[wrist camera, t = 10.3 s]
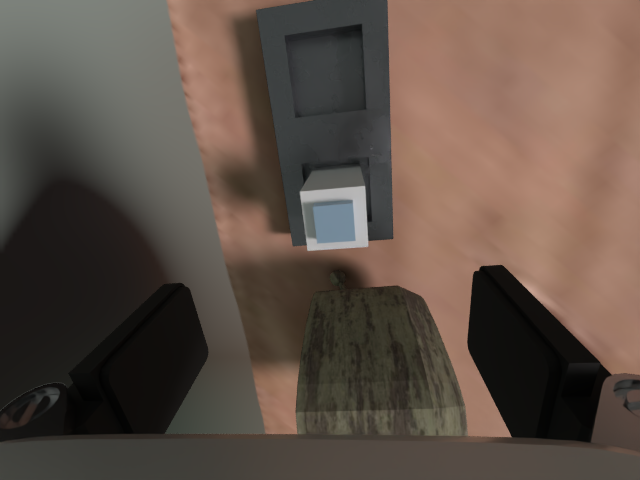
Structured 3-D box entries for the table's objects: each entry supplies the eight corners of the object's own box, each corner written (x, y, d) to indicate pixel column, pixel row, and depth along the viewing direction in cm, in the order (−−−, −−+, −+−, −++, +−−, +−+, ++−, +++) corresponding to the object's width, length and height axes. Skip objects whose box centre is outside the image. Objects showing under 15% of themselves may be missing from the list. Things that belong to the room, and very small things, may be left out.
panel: (266, 21, 24) (256, 9, 22) (382, 3, 23) (387, -12, 21) (297, 234, 31) (292, 246, 28) (388, 227, 30) (393, 239, 27)
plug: (314, 167, 27) (298, 194, 18) (359, 163, 27) (365, 188, 18) (318, 211, 29) (306, 255, 20) (362, 207, 28) (369, 251, 19)
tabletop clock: (318, 258, 32) (245, 640, 9) (408, 250, 31) (595, 664, 8) (334, 367, 37) (316, 783, 14) (412, 363, 36) (529, 810, 13)
